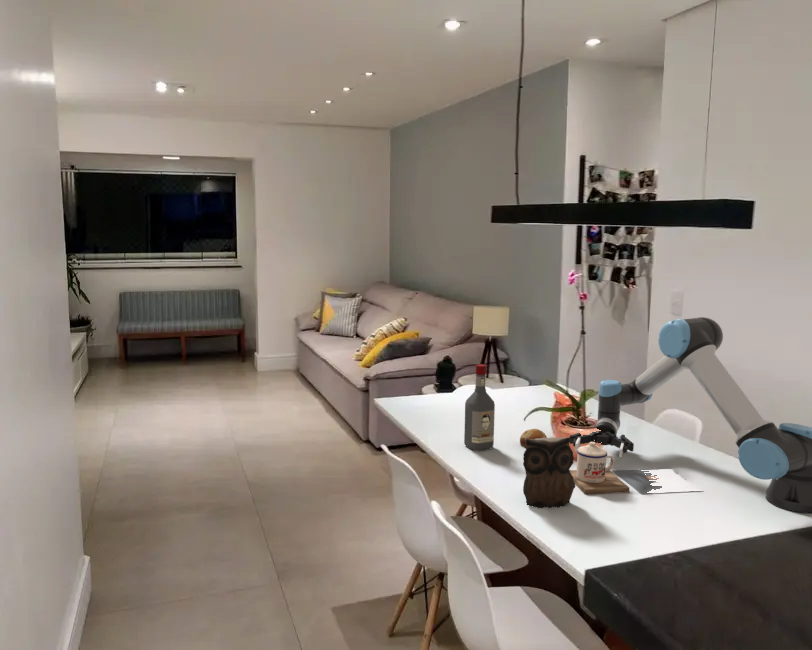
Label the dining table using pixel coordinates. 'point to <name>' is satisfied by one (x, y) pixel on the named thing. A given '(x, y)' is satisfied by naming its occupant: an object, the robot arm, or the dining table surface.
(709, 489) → the dining table surface
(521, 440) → the bread roll
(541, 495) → the owl
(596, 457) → the teacup with lid
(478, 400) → the liquor
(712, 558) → the dining table surface
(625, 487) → the walnut board
